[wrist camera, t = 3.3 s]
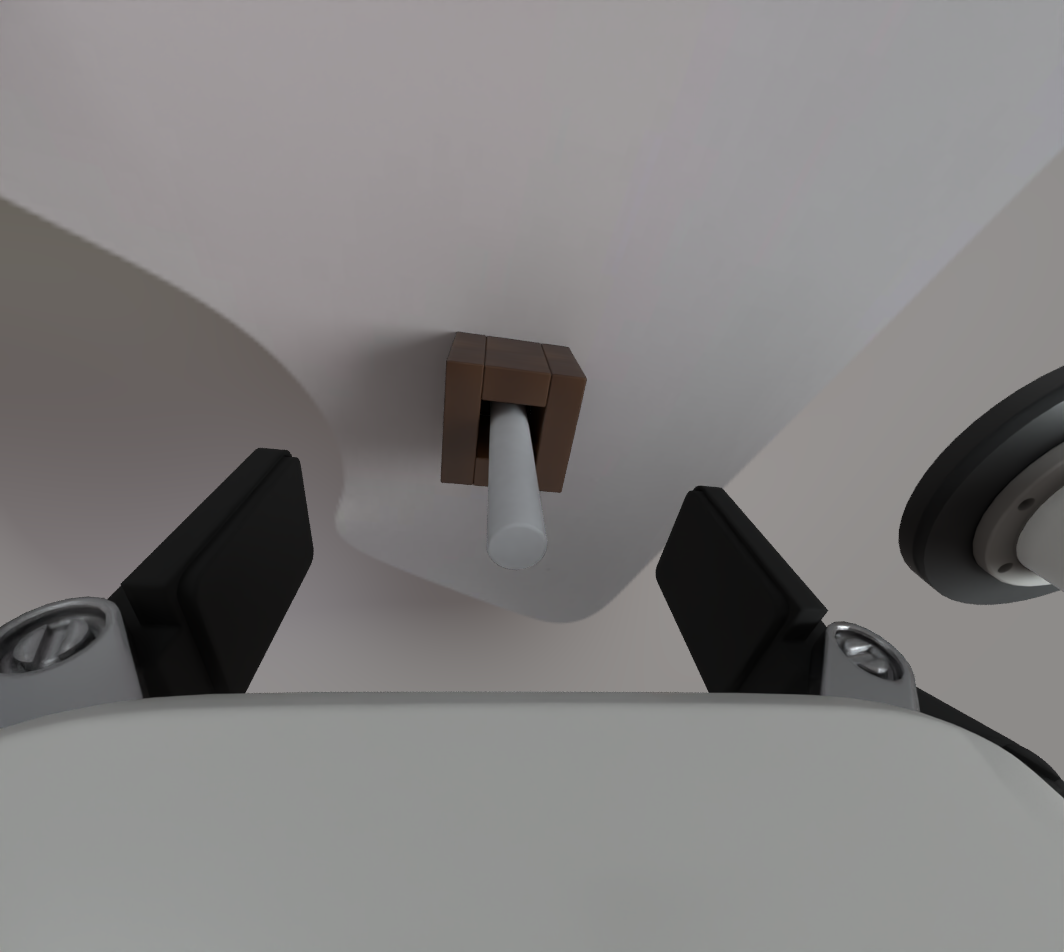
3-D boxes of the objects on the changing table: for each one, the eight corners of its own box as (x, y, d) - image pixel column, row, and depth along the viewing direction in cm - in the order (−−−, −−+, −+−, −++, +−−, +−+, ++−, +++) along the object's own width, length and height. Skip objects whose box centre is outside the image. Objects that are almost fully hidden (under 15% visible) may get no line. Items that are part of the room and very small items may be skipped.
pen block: (569, 347, 17) (587, 378, 14) (549, 445, 19) (561, 493, 16) (456, 331, 16) (446, 360, 13) (450, 435, 19) (440, 483, 15)
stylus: (525, 379, 18) (553, 526, 9) (520, 410, 18) (542, 572, 10) (492, 375, 18) (489, 522, 9) (489, 406, 18) (483, 569, 10)
